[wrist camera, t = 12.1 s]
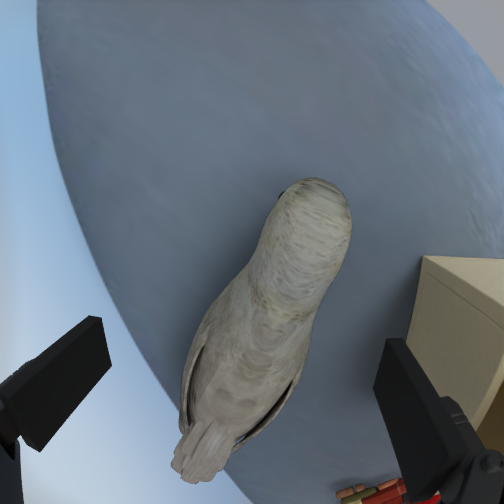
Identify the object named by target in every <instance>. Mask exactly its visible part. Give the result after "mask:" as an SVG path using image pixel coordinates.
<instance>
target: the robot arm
mask: <svg viewBox="0 0 504 504" xmlns="http://www.w3.org/2000/svg"><path fill="white" fill-rule="evenodd" d="M111 366H112V364H111V360H110V355H109V351H108V347H107V342H106V338H105V333H104V328H103V323H102V318H100V317H94V316H90V315H89V316H88V317H86V318H85V319H84V320H83V321H81V322H80V323H79V324H77V325H76V326H75V327H74V328H72V329H71V330H70V331H68V332H67V333H66V334H65V335H63V336H62V337H61V338H60V339H58V340H57V341H56V342H55V343H54V344H52V345H51V346H50V347H48V348H47V349H46V350H45V351H44V352H42V353H41V354H40V355H39V356H37V357H36V358H35V359H32V360H30V361H28V362H26V363H25V364H24V365H22V366H21V367H20V368H19V370H16V371H15V372H14V373H13V375H10V376H9V377H8V378H7V379H6V380H4V381H3V382H2V383H1V384H0V504H24V500H23V492H22V480H21V464H20V444H19V441H18V440H17V438H18V437H19V436H20V435H21V436H22V438H23V439H24V441H25V443H26V444H27V445H28V446H30V447H31V448H33V449H35V450H37V451H38V452H41V451H42V450H43V448H44V447H45V446H46V445H47V443H48V442H49V441H50V440H51V438H52V437H53V436H54V435H55V433H56V432H57V431H58V430H59V428H60V427H61V426H62V425H63V423H64V422H65V421H66V419H68V417H69V416H70V415H71V414H72V412H73V411H74V410H75V409H76V408H77V406H78V405H79V404H80V403H81V402H82V400H83V399H84V398H85V397H86V396H87V394H88V393H89V392H90V391H91V390H92V388H93V387H94V386H95V385H96V384H97V383H98V381H99V380H100V379H101V378H102V377H103V376H104V374H105V373H106V372H107V371H108V370H109V369H110V367H111ZM373 391H374V393H375V396H376V399H377V402H378V404H379V407H380V410H381V413H382V416H383V419H384V421H385V424H386V427H387V430H388V433H389V436H390V439H391V442H392V445H393V448H394V451H395V455H396V458H397V461H398V464H399V467H400V471H401V474H402V477H403V481H404V484H405V487H406V491H407V494H408V498H409V502H410V504H416V503H419V502H423V501H427V500H430V499H431V498H432V497H433V496H434V495H435V494H436V493H437V491H439V494H440V496H441V498H440V499H439V500H438V501H437V502H436V503H435V504H504V456H503V455H502V454H501V453H500V452H498V451H496V450H494V449H486V448H485V447H484V445H483V443H482V442H481V440H480V438H479V437H478V435H477V433H476V432H475V430H474V428H473V427H472V425H471V423H470V422H468V418H467V417H466V415H464V412H463V410H462V409H461V407H460V406H459V404H458V403H457V402H456V401H454V400H453V399H452V398H451V397H449V396H445V397H440V396H439V394H438V393H437V391H436V390H435V388H434V386H433V385H432V383H431V381H430V380H429V378H428V377H427V375H426V374H425V372H424V370H423V369H422V367H421V366H420V364H419V363H418V361H417V360H416V358H415V356H414V355H413V353H412V352H411V350H410V349H409V347H408V346H407V344H406V343H405V341H404V340H403V338H386V342H385V346H384V350H383V354H382V358H381V361H380V365H379V369H378V372H377V376H376V379H375V382H374V386H373Z"/></svg>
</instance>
